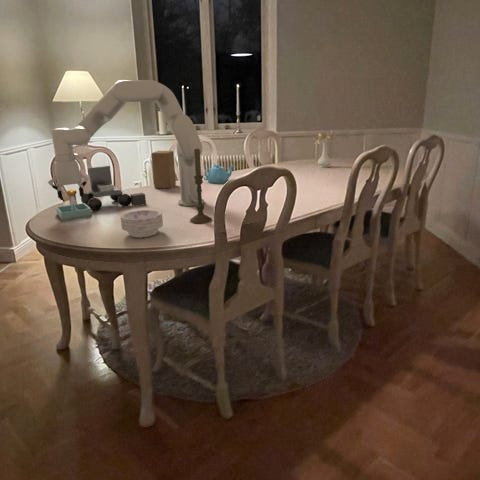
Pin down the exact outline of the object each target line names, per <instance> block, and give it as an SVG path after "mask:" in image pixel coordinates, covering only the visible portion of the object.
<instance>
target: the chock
mask: <svg viewBox="0 0 480 480" xmlns="http://www.w3.org/2000/svg"><path fill="white" fill-rule="evenodd" d="M129 196H130V197H131V200H132V201H131V204H132V206H133V205H134V206H133V207H136V206H135V205H138V206H143V205H142V204H144V205H147V202H146V201H147V200H146V194H145V193H144V192H139V193H133V194H130V195H129ZM131 204H130V205H131Z"/></svg>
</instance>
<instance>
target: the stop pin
mask: <svg viewBox="0 0 480 480" xmlns="http://www.w3.org/2000/svg"><path fill="white" fill-rule="evenodd" d="M66 195H67V196H68V202H69V205H70V209H71V211H75V210H78V207H77V204H78V201H77V196H76V195H77V190H76V189H70V190H66Z"/></svg>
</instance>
